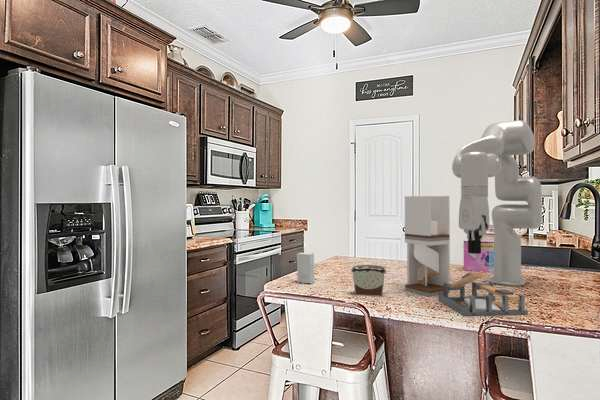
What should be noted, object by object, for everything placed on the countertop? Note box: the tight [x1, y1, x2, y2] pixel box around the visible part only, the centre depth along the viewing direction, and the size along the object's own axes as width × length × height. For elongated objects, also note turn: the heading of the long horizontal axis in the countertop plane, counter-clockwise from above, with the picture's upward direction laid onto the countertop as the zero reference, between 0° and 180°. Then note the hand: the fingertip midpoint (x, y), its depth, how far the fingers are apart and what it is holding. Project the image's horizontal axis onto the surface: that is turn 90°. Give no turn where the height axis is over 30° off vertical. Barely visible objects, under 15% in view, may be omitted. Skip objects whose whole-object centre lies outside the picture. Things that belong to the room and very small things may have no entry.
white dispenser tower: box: [404, 195, 451, 298], centre depth 142 cm, size 11×11×35 cm
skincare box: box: [296, 252, 316, 285], centre depth 158 cm, size 6×4×12 cm
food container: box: [350, 264, 387, 297], centre depth 140 cm, size 12×6×10 cm, turn 78°
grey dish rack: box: [437, 281, 529, 317], centre depth 122 cm, size 18×19×6 cm
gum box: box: [463, 240, 494, 273], centre depth 182 cm, size 24×8×14 cm, turn 69°
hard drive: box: [463, 298, 501, 311], centre depth 122 cm, size 2×8×12 cm
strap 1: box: [448, 272, 485, 291], centre depth 123 cm, size 18×4×2 cm, turn 4°
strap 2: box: [476, 282, 520, 301], centre depth 123 cm, size 18×4×2 cm, turn 5°
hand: (474, 253), depth 118 cm, fingers closed
